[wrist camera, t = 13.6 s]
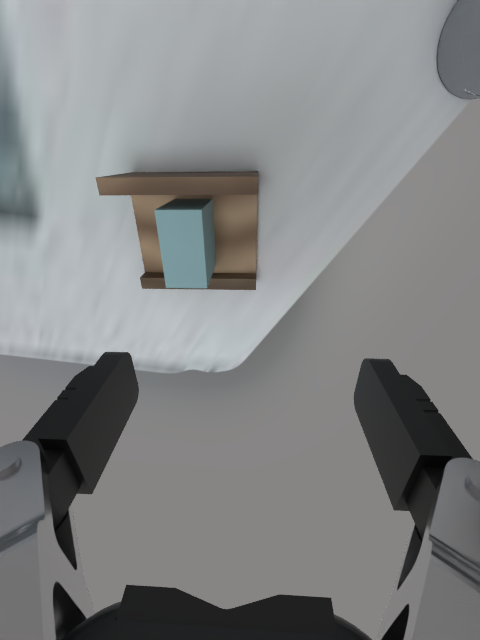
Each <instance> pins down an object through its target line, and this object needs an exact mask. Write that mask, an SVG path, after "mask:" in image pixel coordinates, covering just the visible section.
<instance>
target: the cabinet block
mask: <svg viewBox="0 0 480 640" xmlns="http://www.w3.org/2000/svg"><path fill="white" fill-rule="evenodd" d="M154 211H155V217H156V224H157V231H158V238H159V244H160V251H161V258H162V264H163V271H164V278H165V285H166V288H208V285H209V282H210V279H211V277H212V274H213V271H214V269H215V266H216V250H215V231H214V211H213V199H174V200H172V201H170V202H168V203H166V204H164V205H163V206H161V207H159V208H157V209H155V210H154Z"/></svg>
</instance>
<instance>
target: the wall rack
mask: <svg viewBox="0 0 480 640" xmlns="http://www.w3.org/2000/svg"><path fill="white" fill-rule="evenodd" d="M96 181H97V186H98V190H99V194H100V195H131V197H132V202H133V208H134V213H135V219H136V224H137V230H138V235H139V241H140V246H141V252H142V257H143V263H144V268H145V273H144V274H143V275H142V276H141V277H140V280H141V285H142V289H225V290H256V252H257V201H258V171H254V172H132V173H125V174H118V175H111V176H104V177H97V178H96ZM174 199H213V211H214V231H215V250H216V266H215V269H214V271H213V274H212V277H211V279H210V282H209V285H208V288H166V285H165V278H164V271H163V264H162V258H161V251H160V244H159V238H158V231H157V224H156V217H155V211H154V210H155V209H157V208H159V207H161V206H163V205H164V204H166V203H168V202H170V201H172V200H174Z"/></svg>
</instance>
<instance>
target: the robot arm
mask: <svg viewBox="0 0 480 640" xmlns="http://www.w3.org/2000/svg"><path fill="white" fill-rule="evenodd" d="M437 61H438V71H439V74H440V77H441V80H442V82H443V83H444V85H445V87H446V88H447V89H448V90H449V91H450V92H451V93H452V94H454V95H456V96H458V97H461V98H466V99H476V98H480V0H459V1H458V2H457V3H456V5H455V6H454V8H453V10H452V11H451V13H450V15H449V16H448V18H447V21H446V23H445V26H444V28H443V30H442V34H441V38H440V41H439V45H438V56H437ZM138 392H139V389H138V382H137V378H136V374H135V370H134V366H133V362H132V358H131V355H130V354H129V353H128V352H105V353H104V354H103V355H102V356H101V357H100V359H99V360H98V361H97V362H96V364H95V365H94V366H89V367H87V368H86V369H84V370H83V371H81V372H80V373H79V374H77V375H76V376H75V377H74V378H73V379H72V380H71V382H70V383H69V384H68V385H67V386H66V389H65V390H63V391H62V393H61V394H60V395H59V396H58V398H57V400H55V401H54V402H53V403H52V405H51V406H50V407H49V408H48V410H47V411H46V412H45V413H44V414H43V416H42V417H41V418H40V419H39V421H38V422H37V423H36V424H35V425H34V427H33V428H32V429H31V430H30V431H29V433H28V434H27V435H26V436H25V438H24V439H23V440H22V441H16V442H13V443H9V444H7V445H4V446H2V447H0V640H372V639H371V638H369V636H367V635H366V634H365V633H363V632H362V631H360V629H358V628H357V627H356V626H354V625H353V624H351V623H349V622H347V621H346V620H344V619H343V618H341V617H338V616H336V615H334V613H333V607H332V601H331V598H324V597H309V596H293V595H276V596H273V597H270V598H266V599H263V600H259V601H256V602H253V603H249V604H246V605H243V606H239V607H236V608H232V609H222V608H219V607H217V606H214V605H212V604H210V603H208V602H205V601H203V600H201V599H199V598H197V597H194V596H192V595H190V594H188V593H185V592H183V591H181V590H179V589H176V588H167V587H151V586H135V585H126V588H125V591H124V594H123V598H122V601H121V602H118V603H115V604H113V605H111V606H109V607H106V608H104V609H102V610H100V611H99V612H97V613H94V609H93V604H92V601H91V597H90V594H89V591H88V588H87V586H86V583H85V579H84V575H83V571H82V564H81V558H80V553H79V546H78V540H77V534H76V528H75V523H74V516H73V511H72V507H71V503H72V501H73V499H74V498H75V496H76V494H78V493H79V494H92V493H93V491H94V489H95V487H96V485H97V482H98V481H99V479H100V477H101V474H102V472H103V470H104V468H105V466H106V464H107V462H108V460H109V458H110V456H111V454H112V452H113V450H114V448H115V446H116V443H117V442H118V439H119V437H120V435H121V433H122V431H123V429H124V427H125V425H126V423H127V421H128V419H129V417H130V415H131V413H132V411H133V408H134V407H135V404H136V402H137V399H138ZM354 405H355V410H356V413H357V415H358V418H359V420H360V423H361V426H362V428H363V431H364V434H365V436H366V439H367V441H368V444H369V447H370V449H371V452H372V454H373V457H374V460H375V462H376V465H377V467H378V470H379V472H380V475H381V478H382V480H383V483H384V485H385V488H386V490H387V493H388V496H389V498H390V501H391V504H392V506H393V509H394V510H401V511H410V513H411V515H412V518H413V520H414V523H413V525H412V528H411V531H410V534H409V538H408V541H407V544H406V548H405V551H404V555H403V558H402V561H401V565H400V568H399V572H398V575H397V578H396V582H395V585H394V589H393V592H392V595H391V598H390V601H389V603H388V605H387V608H386V610H385V613H384V615H383V617H382V621H381V623H380V626H379V629H378V632H377V635H376V638H375V640H480V461H477V460H473V459H472V458H471V456H470V455H469V453H468V452H467V450H466V449H465V448H464V446H463V445H462V443H461V442H460V440H459V439H458V438H457V436H456V435H455V433H454V432H453V431H452V429H451V428H450V426H449V425H448V424H447V422H446V421H445V419H444V418H443V416H442V415H441V414H440V413H438V409H437V408H436V407H435V405H434V404H433V402H430V398H429V397H428V395H427V394H426V393H425V391H424V390H423V388H422V387H421V386H420V385H419V384H418V383H416V382H415V381H414V380H412V379H411V378H410V377H409V376H407V375H400V374H399V372H398V371H397V369H396V368H395V366H394V365H393V363H392V362H391V361H390V360H389V359H364V360H363V362H362V365H361V368H360V372H359V377H358V381H357V384H356V388H355V392H354Z"/></svg>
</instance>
